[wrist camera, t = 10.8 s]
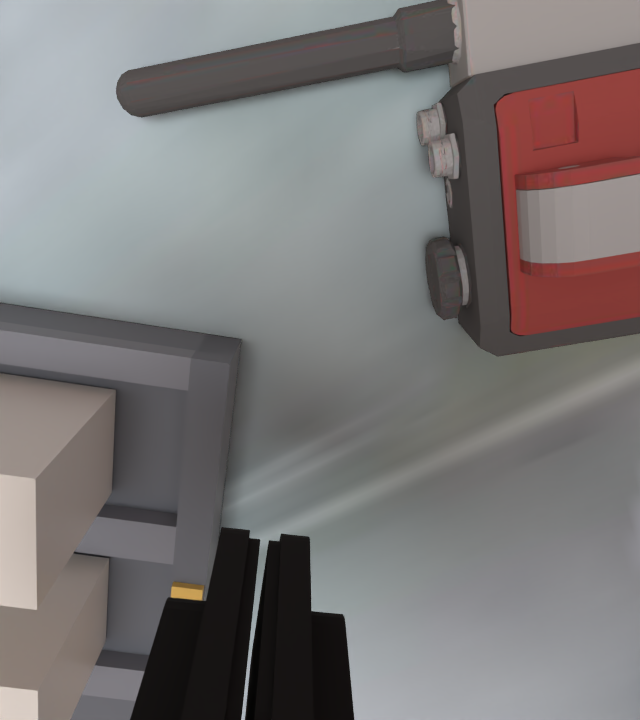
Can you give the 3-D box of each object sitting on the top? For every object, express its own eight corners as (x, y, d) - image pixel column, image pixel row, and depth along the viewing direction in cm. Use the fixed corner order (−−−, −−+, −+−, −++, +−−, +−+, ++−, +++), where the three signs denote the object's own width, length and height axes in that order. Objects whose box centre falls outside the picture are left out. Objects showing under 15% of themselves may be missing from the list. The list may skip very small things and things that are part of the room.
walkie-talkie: (959, -113, 13) (123, 57, 14) (1255, -241, 9) (42, 14, 10) (900, 262, 16) (206, 377, 17) (1104, 298, 12) (169, 446, 13)
